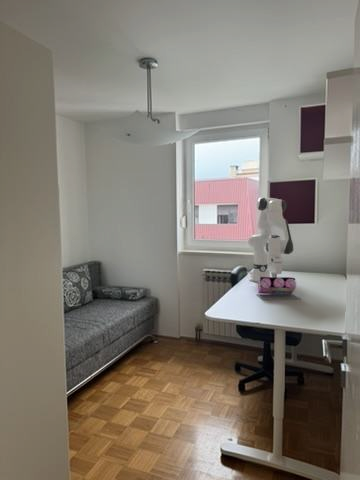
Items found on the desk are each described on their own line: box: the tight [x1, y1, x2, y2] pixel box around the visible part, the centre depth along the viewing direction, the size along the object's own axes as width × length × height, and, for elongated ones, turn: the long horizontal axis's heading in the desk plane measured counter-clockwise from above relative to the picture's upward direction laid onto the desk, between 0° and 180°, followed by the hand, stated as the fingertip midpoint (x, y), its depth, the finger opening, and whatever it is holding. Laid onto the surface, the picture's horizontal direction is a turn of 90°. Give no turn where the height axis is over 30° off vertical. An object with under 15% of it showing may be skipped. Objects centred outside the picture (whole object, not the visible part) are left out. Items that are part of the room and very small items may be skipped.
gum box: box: [257, 276, 297, 294], centre depth 223 cm, size 24×8×14 cm
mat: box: [255, 293, 301, 301], centre depth 221 cm, size 14×26×1 cm, turn 94°
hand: (274, 278), depth 225 cm, fingers closed
